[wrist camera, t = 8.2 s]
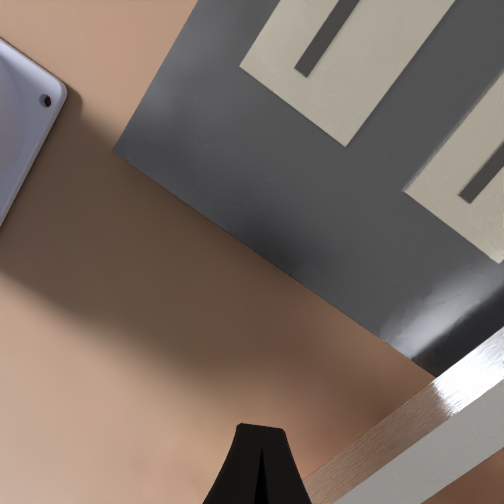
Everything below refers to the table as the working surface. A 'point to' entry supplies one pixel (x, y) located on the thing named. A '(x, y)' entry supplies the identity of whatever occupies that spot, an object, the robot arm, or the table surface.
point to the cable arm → (423, 438)
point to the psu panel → (346, 154)
